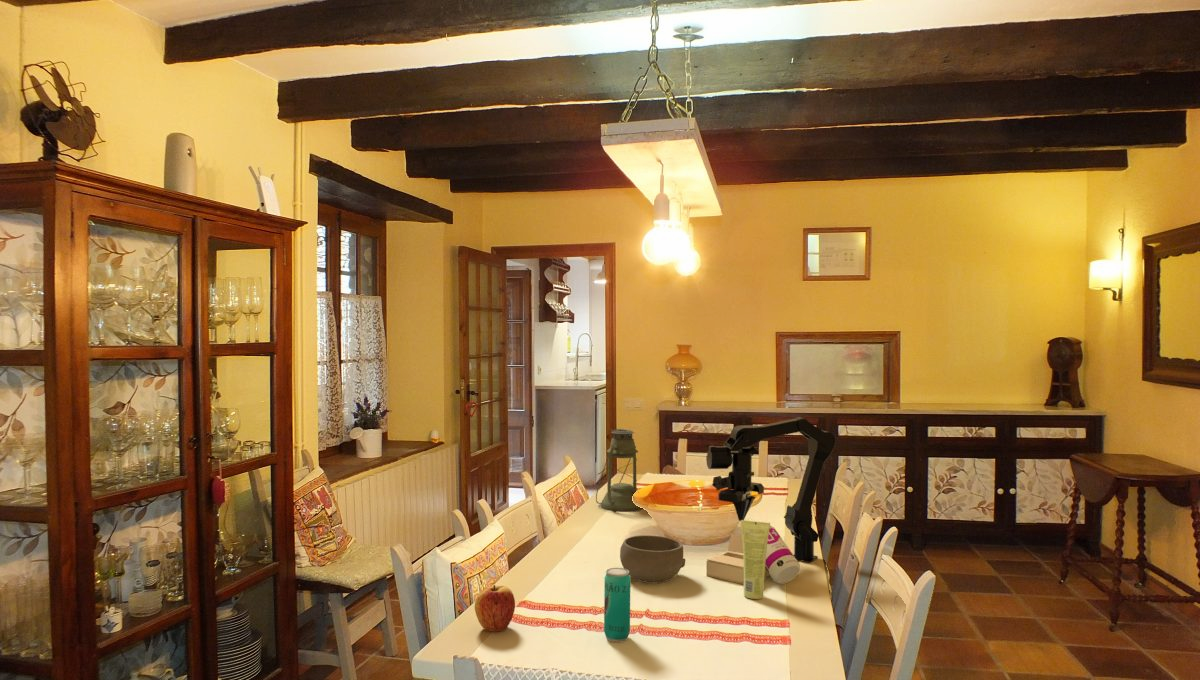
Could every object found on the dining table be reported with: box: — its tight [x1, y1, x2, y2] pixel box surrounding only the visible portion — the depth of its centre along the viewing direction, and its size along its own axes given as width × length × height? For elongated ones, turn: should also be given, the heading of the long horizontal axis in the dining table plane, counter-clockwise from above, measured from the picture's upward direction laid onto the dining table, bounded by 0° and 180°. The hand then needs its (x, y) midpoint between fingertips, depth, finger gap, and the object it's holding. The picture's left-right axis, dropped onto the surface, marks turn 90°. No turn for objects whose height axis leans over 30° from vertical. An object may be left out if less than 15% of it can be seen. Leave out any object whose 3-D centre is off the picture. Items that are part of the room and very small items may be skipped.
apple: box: [474, 584, 516, 632], centre depth 174 cm, size 9×9×10 cm
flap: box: [727, 533, 743, 554], centre depth 220 cm, size 5×14×1 cm
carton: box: [705, 550, 771, 585], centre depth 214 cm, size 12×14×5 cm
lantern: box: [595, 428, 642, 513], centre depth 297 cm, size 21×18×30 cm
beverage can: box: [603, 567, 631, 643], centre depth 169 cm, size 6×6×15 cm
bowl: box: [619, 534, 686, 584], centre depth 211 cm, size 17×18×10 cm
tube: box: [740, 519, 771, 600], centre depth 197 cm, size 6×5×20 cm
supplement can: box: [765, 525, 801, 584], centre depth 210 cm, size 8×8×15 cm
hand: (741, 520), depth 228 cm, fingers closed
